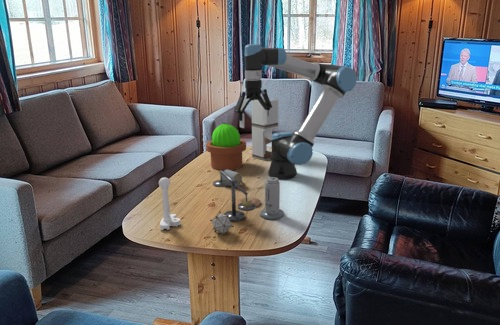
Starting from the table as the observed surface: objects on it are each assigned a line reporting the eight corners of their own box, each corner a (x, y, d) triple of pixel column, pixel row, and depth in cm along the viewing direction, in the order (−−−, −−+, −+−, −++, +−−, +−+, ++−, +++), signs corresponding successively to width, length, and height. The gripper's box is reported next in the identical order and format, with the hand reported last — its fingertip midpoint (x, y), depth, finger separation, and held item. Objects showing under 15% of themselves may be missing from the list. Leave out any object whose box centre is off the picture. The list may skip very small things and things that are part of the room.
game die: (220, 243, 174) (207, 229, 167) (215, 228, 180) (203, 214, 174) (240, 232, 173) (228, 218, 166) (235, 217, 179) (223, 202, 173)
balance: (209, 210, 195) (207, 170, 190) (226, 205, 200) (225, 166, 195) (243, 230, 176) (242, 185, 171) (261, 224, 181) (260, 180, 176)
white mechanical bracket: (166, 218, 188) (162, 173, 182) (183, 219, 187) (181, 173, 181) (157, 230, 177) (154, 182, 171) (176, 231, 176) (173, 182, 171)
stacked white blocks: (264, 160, 265) (264, 101, 255) (252, 157, 273) (251, 99, 263) (278, 157, 273) (278, 99, 262) (265, 153, 280) (265, 97, 270)
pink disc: (251, 197, 209) (251, 195, 209) (265, 204, 201) (265, 202, 201) (233, 203, 203) (233, 200, 203) (247, 209, 196) (247, 207, 195)
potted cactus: (232, 174, 242) (231, 128, 235) (199, 168, 253) (197, 124, 246) (253, 163, 260) (252, 121, 253) (222, 158, 271) (220, 117, 264)
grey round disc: (273, 208, 197) (273, 206, 197) (289, 215, 189) (289, 213, 189) (255, 214, 191) (255, 211, 191) (270, 221, 183) (270, 219, 183)
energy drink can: (262, 211, 191) (262, 178, 186) (274, 208, 194) (274, 175, 189) (270, 216, 186) (270, 182, 182) (282, 213, 189) (282, 179, 185)
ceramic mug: (234, 189, 220) (234, 174, 218) (220, 186, 225) (220, 171, 223) (246, 183, 229) (246, 168, 227) (233, 180, 233) (232, 166, 231)
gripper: (235, 82, 194) (236, 130, 200) (279, 78, 209) (279, 123, 215) (225, 81, 200) (227, 127, 206) (269, 76, 214) (269, 120, 221)
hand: (253, 125), depth 210 cm, fingers open, 13 cm apart
